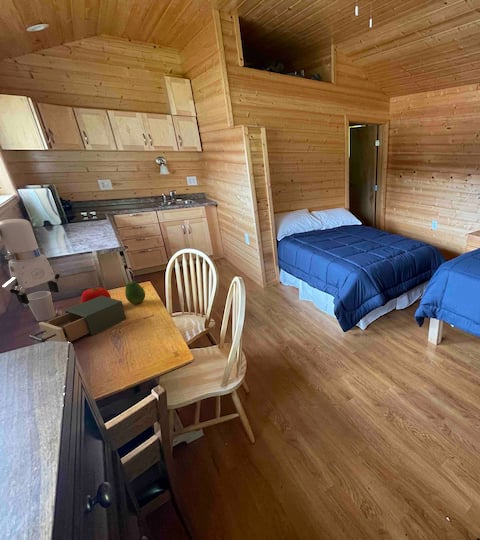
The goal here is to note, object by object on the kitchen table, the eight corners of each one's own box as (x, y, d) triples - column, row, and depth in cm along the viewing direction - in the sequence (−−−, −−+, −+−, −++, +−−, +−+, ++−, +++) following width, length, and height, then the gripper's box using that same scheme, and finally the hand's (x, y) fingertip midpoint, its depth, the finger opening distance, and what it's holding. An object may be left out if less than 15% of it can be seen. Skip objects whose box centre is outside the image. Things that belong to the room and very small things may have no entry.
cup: (62, 317, 137) (54, 293, 132) (39, 325, 130) (30, 301, 125) (53, 312, 139) (45, 289, 135) (30, 320, 133) (20, 296, 128)
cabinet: (91, 336, 126) (85, 316, 122) (70, 329, 129) (64, 310, 125) (126, 319, 139) (121, 301, 135) (106, 313, 142) (101, 295, 138)
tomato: (78, 312, 141) (71, 291, 137) (99, 301, 151) (93, 282, 147) (98, 315, 140) (91, 294, 136) (118, 304, 150) (112, 285, 146)
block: (65, 338, 120) (62, 328, 119) (57, 335, 121) (54, 326, 120) (78, 332, 124) (75, 323, 123) (70, 329, 125) (67, 320, 124)
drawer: (49, 353, 113) (42, 336, 110) (29, 346, 116) (22, 329, 113) (101, 328, 129) (96, 313, 126) (82, 322, 132) (77, 307, 129)
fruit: (148, 303, 153) (143, 282, 148) (129, 308, 147) (124, 286, 143) (145, 297, 158) (140, 277, 153) (126, 302, 152) (121, 281, 148)
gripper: (2, 264, 97) (20, 309, 104) (60, 248, 113) (73, 289, 120) (-17, 261, 98) (2, 306, 105) (43, 246, 114) (57, 286, 121)
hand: (40, 297), depth 112 cm, fingers open, 9 cm apart
